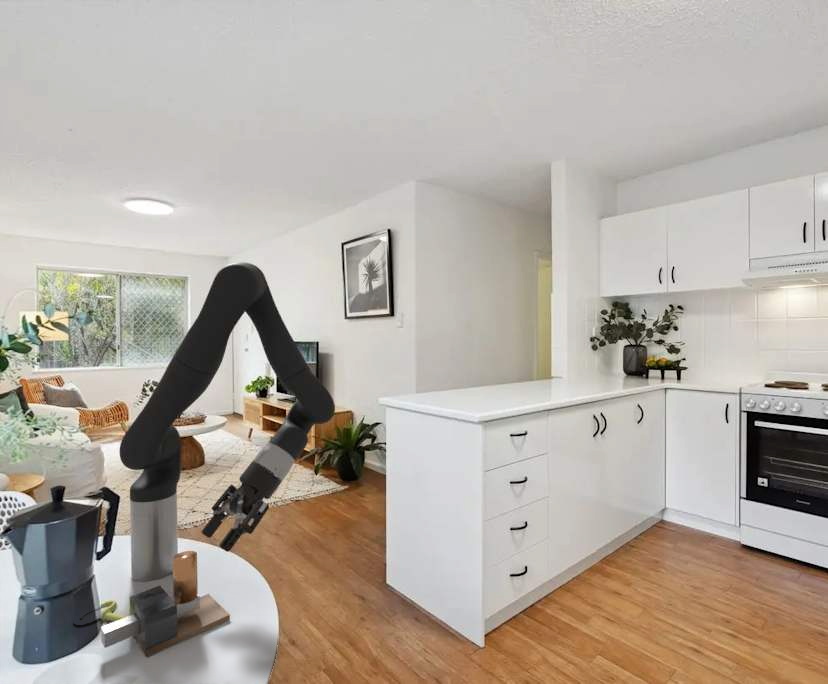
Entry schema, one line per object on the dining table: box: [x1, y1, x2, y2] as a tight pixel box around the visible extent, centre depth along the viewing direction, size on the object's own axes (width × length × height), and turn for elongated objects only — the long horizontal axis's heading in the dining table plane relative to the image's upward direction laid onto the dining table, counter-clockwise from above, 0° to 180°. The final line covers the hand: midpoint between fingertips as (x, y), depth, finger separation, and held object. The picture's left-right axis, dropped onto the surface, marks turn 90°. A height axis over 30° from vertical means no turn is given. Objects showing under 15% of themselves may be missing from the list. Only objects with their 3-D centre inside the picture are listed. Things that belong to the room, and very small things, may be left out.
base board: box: [133, 593, 231, 659], centre depth 85 cm, size 10×14×1 cm
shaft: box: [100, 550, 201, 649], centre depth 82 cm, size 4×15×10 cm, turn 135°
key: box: [100, 599, 130, 622], centre depth 88 cm, size 7×12×2 cm, turn 83°
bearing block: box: [129, 585, 177, 650], centre depth 82 cm, size 9×5×6 cm, turn 45°
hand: (214, 542), depth 89 cm, fingers open, 8 cm apart
